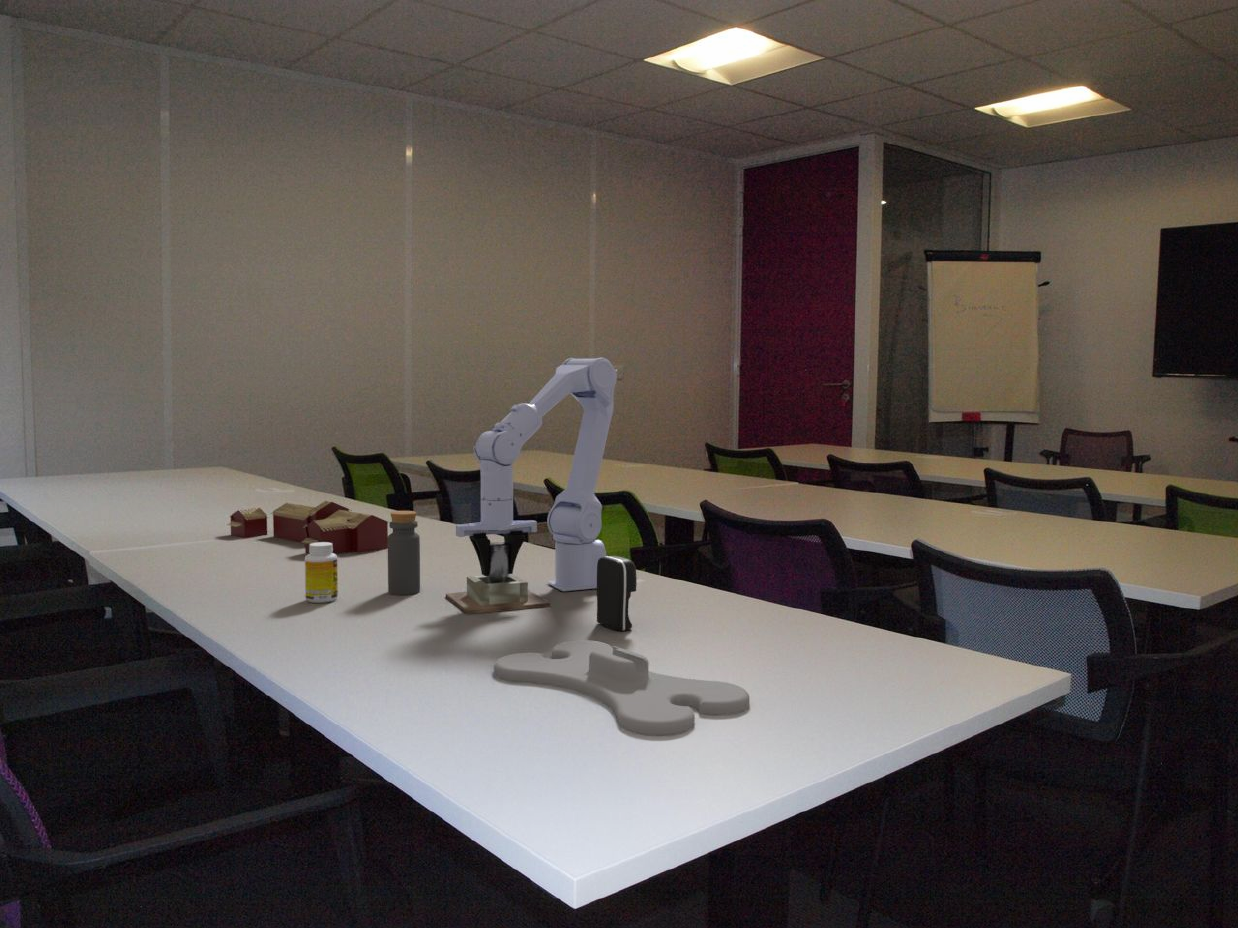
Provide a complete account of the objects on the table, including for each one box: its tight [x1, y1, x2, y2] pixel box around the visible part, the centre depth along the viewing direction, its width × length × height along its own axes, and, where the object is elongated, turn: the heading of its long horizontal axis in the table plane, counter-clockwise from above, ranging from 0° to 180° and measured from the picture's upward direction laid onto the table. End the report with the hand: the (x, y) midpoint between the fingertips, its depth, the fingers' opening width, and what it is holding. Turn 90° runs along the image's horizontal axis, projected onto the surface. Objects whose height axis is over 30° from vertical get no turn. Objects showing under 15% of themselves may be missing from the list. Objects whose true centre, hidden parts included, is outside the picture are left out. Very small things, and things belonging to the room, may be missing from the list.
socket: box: [445, 573, 551, 615], centre depth 170 cm, size 15×14×4 cm
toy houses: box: [227, 500, 391, 555], centre depth 229 cm, size 45×20×10 cm, turn 51°
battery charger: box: [596, 555, 638, 632], centre depth 153 cm, size 7×4×11 cm, turn 36°
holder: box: [493, 639, 750, 737], centre depth 124 cm, size 19×34×5 cm, turn 43°
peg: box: [486, 541, 509, 584], centre depth 169 cm, size 4×4×9 cm
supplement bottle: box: [304, 542, 339, 604], centre depth 169 cm, size 6×6×10 cm
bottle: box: [387, 510, 421, 596], centre depth 176 cm, size 6×6×15 cm
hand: (496, 573), depth 170 cm, fingers closed on peg, 4 cm apart
